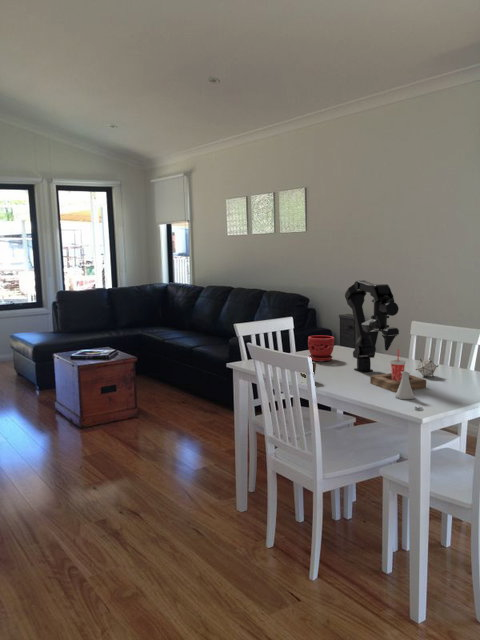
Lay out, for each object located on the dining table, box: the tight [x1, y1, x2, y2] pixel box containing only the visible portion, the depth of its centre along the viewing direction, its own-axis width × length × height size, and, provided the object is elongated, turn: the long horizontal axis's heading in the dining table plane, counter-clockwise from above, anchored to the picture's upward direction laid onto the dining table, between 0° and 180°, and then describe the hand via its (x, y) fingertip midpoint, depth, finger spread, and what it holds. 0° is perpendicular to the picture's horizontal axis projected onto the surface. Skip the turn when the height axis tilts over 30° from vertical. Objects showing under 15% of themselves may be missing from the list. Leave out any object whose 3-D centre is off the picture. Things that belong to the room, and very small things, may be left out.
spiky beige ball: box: [415, 357, 439, 378], centre depth 255 cm, size 9×8×10 cm
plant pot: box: [307, 334, 335, 362], centre depth 294 cm, size 13×13×12 cm
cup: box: [299, 362, 317, 378], centre depth 251 cm, size 8×7×8 cm
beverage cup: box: [390, 349, 407, 382], centre depth 240 cm, size 6×6×14 cm
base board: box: [369, 372, 427, 393], centre depth 241 cm, size 16×16×3 cm
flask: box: [395, 370, 415, 400], centre depth 223 cm, size 7×7×10 cm
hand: (379, 348), depth 253 cm, fingers open, 9 cm apart
